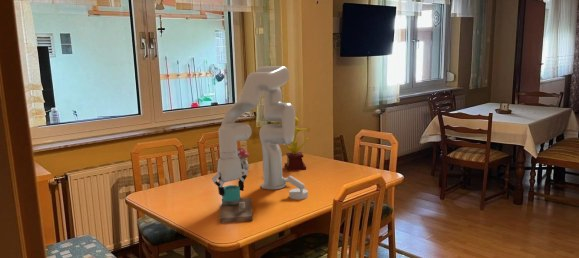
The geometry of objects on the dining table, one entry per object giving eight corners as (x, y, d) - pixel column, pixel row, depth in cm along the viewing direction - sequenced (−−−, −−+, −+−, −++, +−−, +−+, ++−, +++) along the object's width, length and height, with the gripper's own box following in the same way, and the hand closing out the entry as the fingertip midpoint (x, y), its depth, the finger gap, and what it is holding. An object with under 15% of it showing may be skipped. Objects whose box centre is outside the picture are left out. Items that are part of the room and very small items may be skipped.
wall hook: (292, 173, 214) (310, 175, 209) (293, 192, 215) (311, 195, 210) (282, 177, 207) (301, 180, 201) (283, 197, 208) (301, 200, 203)
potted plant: (276, 169, 259) (274, 117, 254) (292, 163, 271) (290, 114, 266) (295, 172, 250) (293, 119, 245) (312, 166, 262) (310, 115, 257)
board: (251, 202, 203) (250, 184, 202) (252, 220, 181) (251, 200, 179) (222, 204, 202) (221, 185, 201) (220, 222, 180) (218, 202, 178)
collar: (234, 195, 201) (234, 184, 201) (242, 198, 196) (242, 187, 195) (220, 198, 197) (219, 187, 196) (228, 202, 192) (227, 191, 191)
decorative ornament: (232, 173, 253) (230, 147, 251) (236, 170, 259) (235, 145, 257) (247, 174, 251) (246, 147, 248) (251, 170, 257) (250, 145, 254)
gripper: (241, 149, 201) (244, 186, 204) (206, 156, 191) (209, 195, 194) (250, 152, 195) (252, 190, 198) (214, 160, 185) (217, 199, 188)
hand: (231, 192), depth 196 cm, fingers open, 9 cm apart
